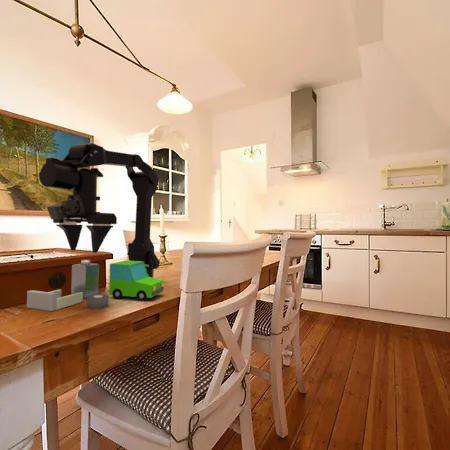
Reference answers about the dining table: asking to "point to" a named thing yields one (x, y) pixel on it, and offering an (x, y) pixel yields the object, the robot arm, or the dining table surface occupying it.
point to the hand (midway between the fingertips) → (83, 251)
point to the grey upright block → (85, 278)
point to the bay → (51, 300)
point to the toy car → (133, 281)
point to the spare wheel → (97, 301)
